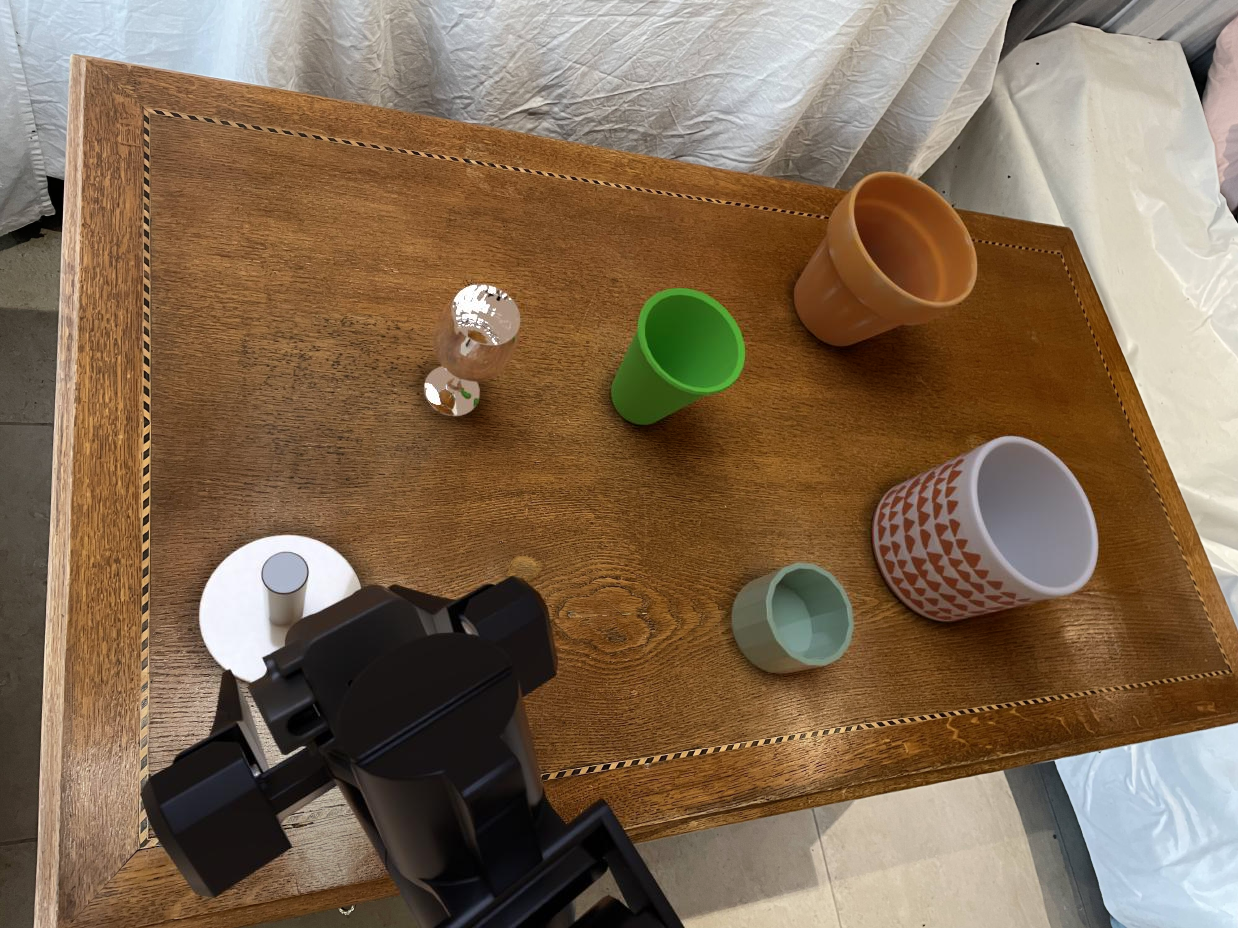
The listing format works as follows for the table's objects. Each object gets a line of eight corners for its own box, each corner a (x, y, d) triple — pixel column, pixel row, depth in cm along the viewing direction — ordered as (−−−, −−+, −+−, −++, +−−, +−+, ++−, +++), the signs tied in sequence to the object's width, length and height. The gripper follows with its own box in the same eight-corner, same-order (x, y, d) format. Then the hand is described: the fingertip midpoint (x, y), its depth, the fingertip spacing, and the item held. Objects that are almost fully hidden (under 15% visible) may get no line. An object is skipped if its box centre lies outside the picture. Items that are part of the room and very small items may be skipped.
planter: (979, 643, 74) (1101, 620, 63) (859, 590, 71) (966, 556, 60) (987, 515, 80) (1100, 473, 69) (877, 461, 77) (977, 409, 66)
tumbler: (817, 675, 66) (859, 667, 61) (734, 672, 63) (771, 663, 58) (808, 581, 69) (847, 566, 64) (728, 574, 66) (762, 558, 61)
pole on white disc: (354, 688, 52) (371, 669, 43) (186, 684, 49) (163, 662, 39) (369, 543, 56) (388, 496, 46) (214, 530, 52) (199, 475, 43)
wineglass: (477, 354, 64) (515, 274, 54) (496, 418, 63) (538, 348, 53) (407, 362, 62) (433, 279, 52) (424, 429, 60) (454, 357, 50)
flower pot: (905, 358, 83) (1002, 294, 72) (806, 383, 77) (896, 316, 66) (849, 245, 86) (934, 165, 75) (748, 259, 80) (825, 175, 69)
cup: (595, 340, 69) (646, 271, 60) (687, 370, 72) (749, 309, 62) (581, 430, 66) (632, 372, 56) (678, 459, 68) (743, 408, 59)
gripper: (609, 568, 33) (434, 439, 43) (119, 859, 23) (51, 603, 34) (632, 744, 38) (473, 592, 49) (248, 1031, 29) (156, 767, 40)
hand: (315, 631), depth 43 cm, fingers open, 9 cm apart
